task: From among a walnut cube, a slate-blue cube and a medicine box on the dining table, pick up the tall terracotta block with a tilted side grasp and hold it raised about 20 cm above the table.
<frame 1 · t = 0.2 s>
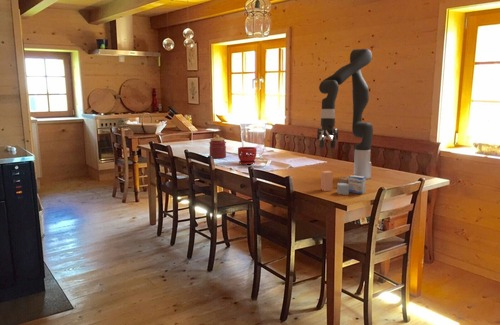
hand: (327, 147, 232), 22 cm above the table, tool pointing down, fingers open, 8 cm apart
medicine box: (356, 192, 224), on the table
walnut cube: (345, 187, 236), on the table
terracotta block: (326, 190, 230), on the table
canister: (217, 157, 334), on the table
plant pot: (247, 164, 305), on the table
slate blue cube: (342, 193, 222), on the table
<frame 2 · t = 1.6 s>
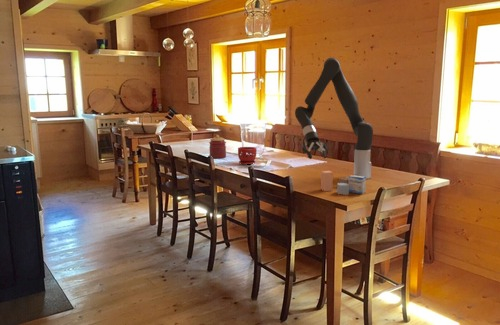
hand: (318, 157, 238), 16 cm above the table, tool tilted 45°, fingers open, 8 cm apart
nothing on the table moved.
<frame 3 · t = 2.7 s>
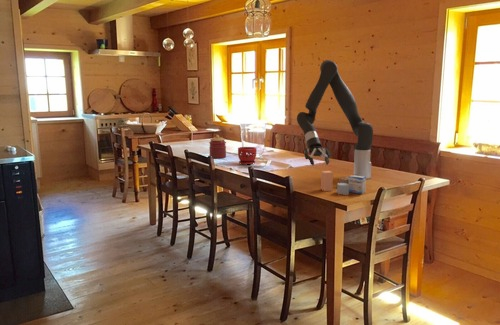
hand: (320, 164, 235), 13 cm above the table, tool tilted 45°, fingers open, 8 cm apart
nothing on the table moved.
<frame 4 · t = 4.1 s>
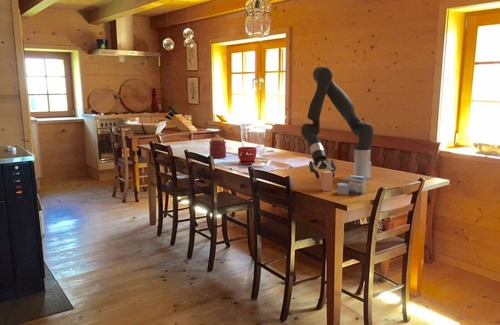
hand: (326, 177, 229), 7 cm above the table, tool tilted 45°, fingers open, 8 cm apart
nothing on the table moved.
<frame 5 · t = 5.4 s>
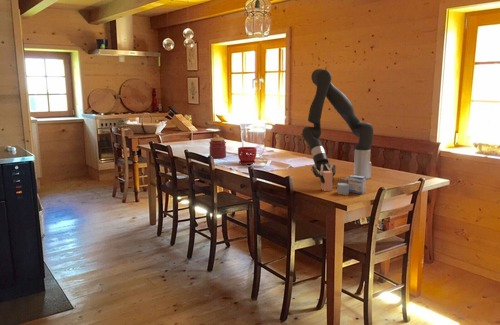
hand: (328, 182, 227), 5 cm above the table, tool tilted 45°, fingers closed on terracotta block, 4 cm apart
terracotta block: (326, 189, 230), on the table, touching gripper
everything else where it was.
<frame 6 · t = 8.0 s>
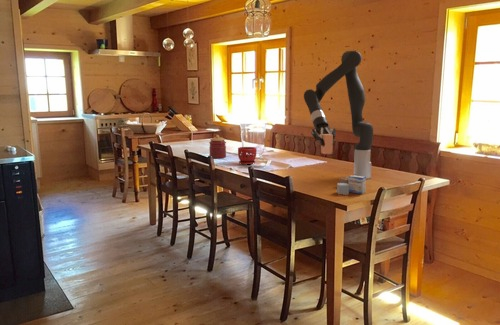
hand: (328, 145, 225), 24 cm above the table, tool tilted 45°, fingers closed on terracotta block, 4 cm apart
terracotta block: (326, 153, 227), point 20 cm above the table, touching gripper
everything else where it was.
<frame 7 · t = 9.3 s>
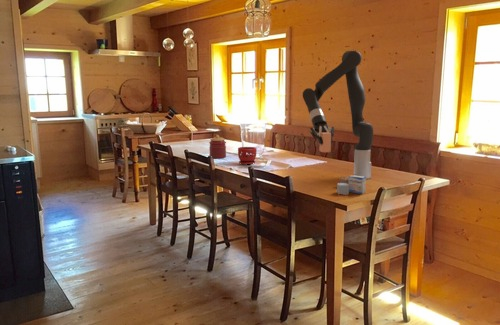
hand: (326, 143, 226), 25 cm above the table, tool tilted 45°, fingers closed on terracotta block, 4 cm apart
terracotta block: (325, 151, 229), point 20 cm above the table, touching gripper
everything else where it was.
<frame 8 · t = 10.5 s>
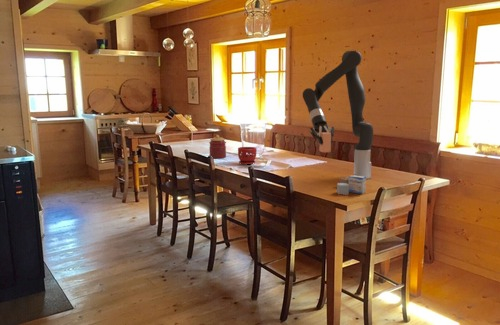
hand: (326, 143, 226), 25 cm above the table, tool tilted 45°, fingers closed on terracotta block, 4 cm apart
terracotta block: (325, 151, 229), point 20 cm above the table, touching gripper
everything else where it was.
at the end: the gripper is holding terracotta block; terracotta block point 20.4 cm above the table; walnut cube moved 0.1 cm from its start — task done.
